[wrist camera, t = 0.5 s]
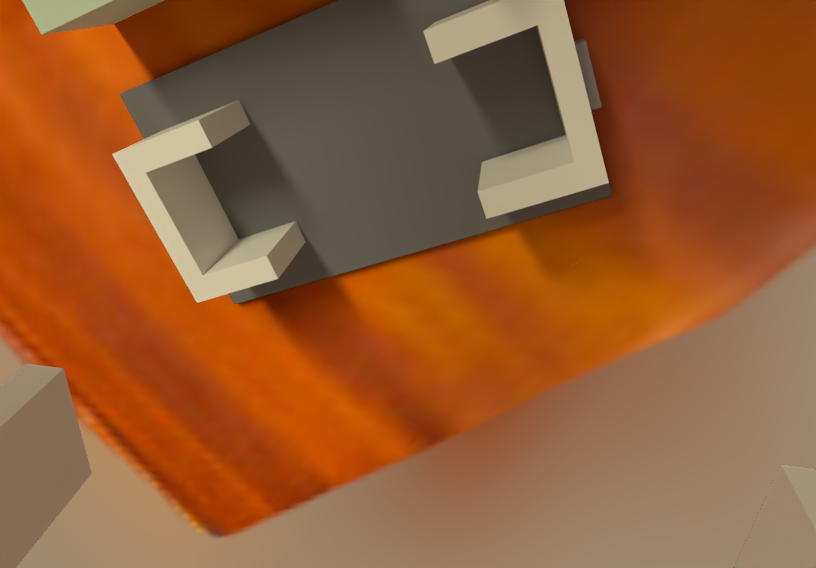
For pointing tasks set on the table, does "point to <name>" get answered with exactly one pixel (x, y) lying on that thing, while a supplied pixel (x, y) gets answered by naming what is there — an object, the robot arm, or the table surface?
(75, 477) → the robot arm
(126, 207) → the table surface
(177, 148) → the cap
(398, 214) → the mat
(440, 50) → the cap
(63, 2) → the slat
